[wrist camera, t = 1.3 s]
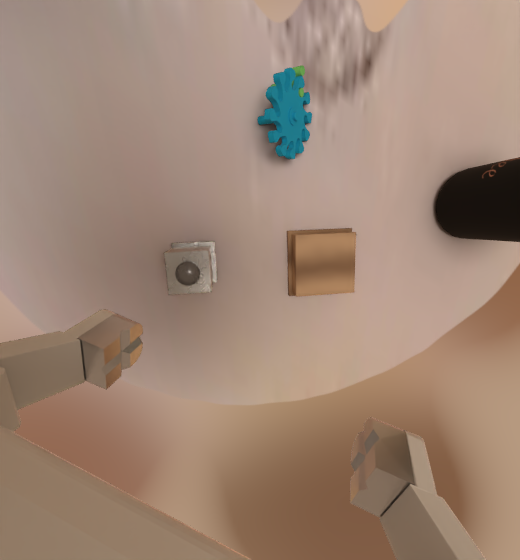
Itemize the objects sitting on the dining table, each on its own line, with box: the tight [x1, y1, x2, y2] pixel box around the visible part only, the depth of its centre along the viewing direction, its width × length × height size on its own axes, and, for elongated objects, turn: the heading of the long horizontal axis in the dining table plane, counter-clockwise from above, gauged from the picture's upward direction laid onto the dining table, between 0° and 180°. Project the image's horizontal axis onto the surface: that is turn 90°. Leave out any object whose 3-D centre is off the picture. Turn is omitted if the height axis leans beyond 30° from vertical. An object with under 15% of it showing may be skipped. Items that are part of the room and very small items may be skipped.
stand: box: [287, 228, 356, 296], centre depth 43 cm, size 10×10×3 cm
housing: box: [164, 241, 217, 295], centre depth 37 cm, size 6×6×10 cm
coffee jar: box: [436, 157, 520, 242], centre depth 37 cm, size 11×11×18 cm
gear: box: [258, 66, 312, 159], centre depth 37 cm, size 11×6×10 cm
